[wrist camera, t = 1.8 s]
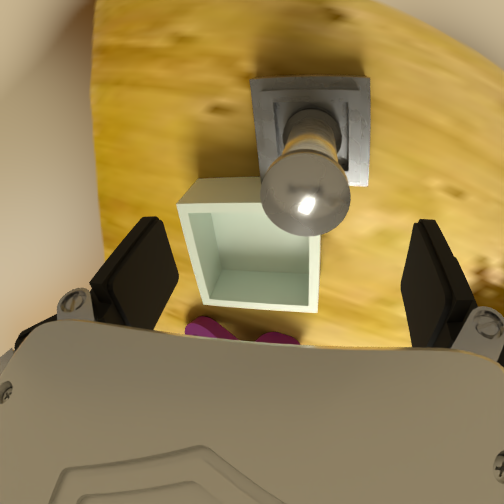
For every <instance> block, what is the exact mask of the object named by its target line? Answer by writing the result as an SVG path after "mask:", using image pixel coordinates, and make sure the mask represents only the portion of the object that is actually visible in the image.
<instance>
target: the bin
mask: <svg viewBox="0 0 504 504" xmlns="http://www.w3.org/2000/svg"><path fill="white" fill-rule="evenodd" d="M260 190H261V179H260V177H224V178H201V179H197V181H196V182H195V183H194V184H193V185H192V186H191V187H190V189H189V190H188V191H187V192H186V193H185V194H184V195H183V197H182V198H181V199H180V200H179V201H178V202H177V204H176V205H177V209H178V213H179V217H180V221H181V225H182V229H183V233H184V237H185V241H186V244H187V248H188V252H189V256H190V259H191V263H192V267H193V270H194V274H195V277H196V281H197V284H198V288H199V291H200V295H201V298H202V302H203V305H213V306H224V307H236V308H249V309H262V310H276V311H292V312H311V313H317V312H318V298H319V283H320V258H321V235H318V236H308V237H305V236H297V235H293V234H290V233H288V232H285V231H283V230H282V229H280V228H279V227H277V226H276V225H275V224H274V223H273V222H272V221H271V220H270V219H269V218H268V216H267V215H266V213H265V211H264V209H263V207H262V204H261V199H260Z"/></svg>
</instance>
